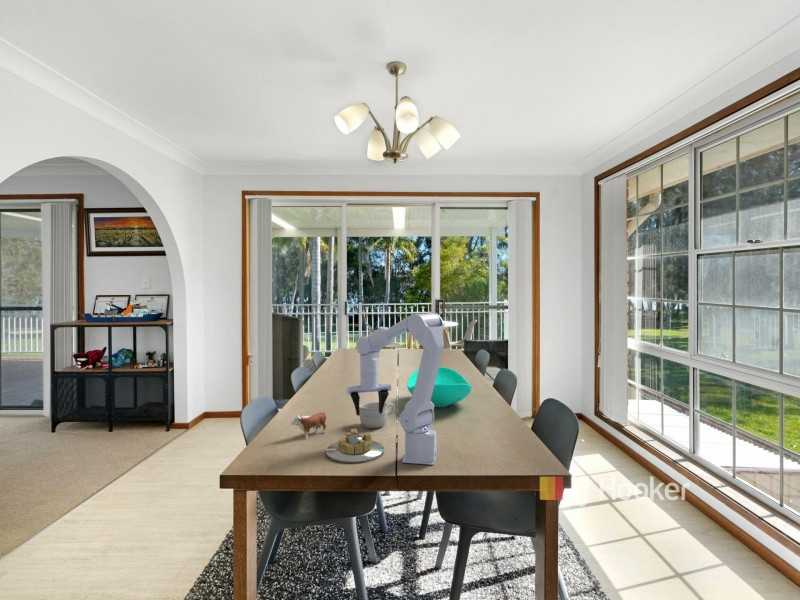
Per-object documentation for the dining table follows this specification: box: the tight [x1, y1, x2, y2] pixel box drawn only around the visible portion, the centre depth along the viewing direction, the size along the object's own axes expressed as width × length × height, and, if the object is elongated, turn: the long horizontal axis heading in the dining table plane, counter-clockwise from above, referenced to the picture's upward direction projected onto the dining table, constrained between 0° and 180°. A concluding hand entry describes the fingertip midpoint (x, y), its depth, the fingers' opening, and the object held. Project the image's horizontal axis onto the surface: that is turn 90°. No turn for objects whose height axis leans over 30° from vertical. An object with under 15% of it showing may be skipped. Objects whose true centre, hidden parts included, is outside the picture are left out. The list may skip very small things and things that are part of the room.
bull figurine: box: [291, 412, 327, 440], centre depth 160 cm, size 4×13×8 cm, turn 135°
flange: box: [325, 434, 385, 464], centre depth 144 cm, size 18×18×5 cm
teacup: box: [359, 401, 396, 429], centre depth 171 cm, size 14×11×8 cm
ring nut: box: [337, 428, 373, 454], centre depth 146 cm, size 10×14×3 cm
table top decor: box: [406, 366, 473, 408], centre depth 200 cm, size 40×28×13 cm
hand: (369, 413), depth 152 cm, fingers open, 7 cm apart
